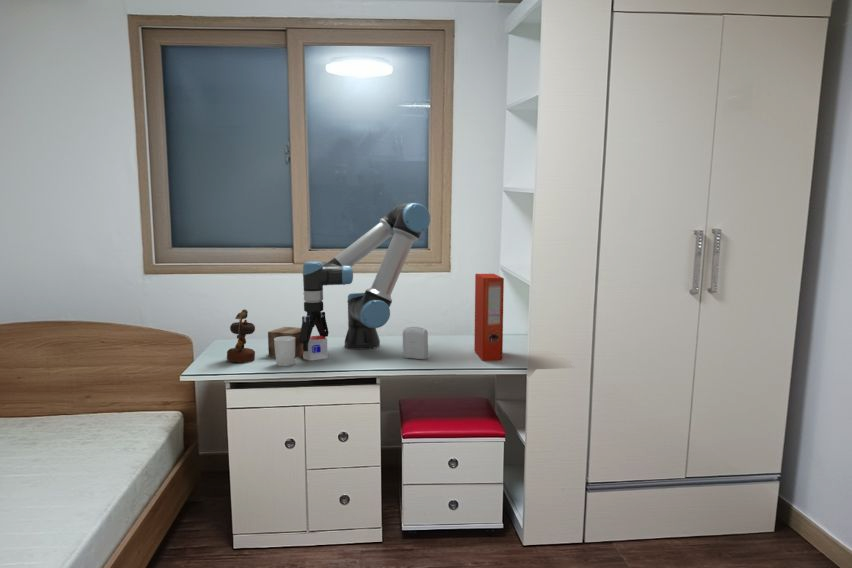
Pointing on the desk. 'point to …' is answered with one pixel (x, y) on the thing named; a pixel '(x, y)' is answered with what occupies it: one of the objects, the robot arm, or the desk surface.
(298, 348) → the walnut pedestal
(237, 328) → the brown tall carved piece
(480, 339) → the file binder
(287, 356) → the white cup
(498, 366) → the desk surface
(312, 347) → the red white patterned cube
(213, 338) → the desk surface
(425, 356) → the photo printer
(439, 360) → the desk surface
